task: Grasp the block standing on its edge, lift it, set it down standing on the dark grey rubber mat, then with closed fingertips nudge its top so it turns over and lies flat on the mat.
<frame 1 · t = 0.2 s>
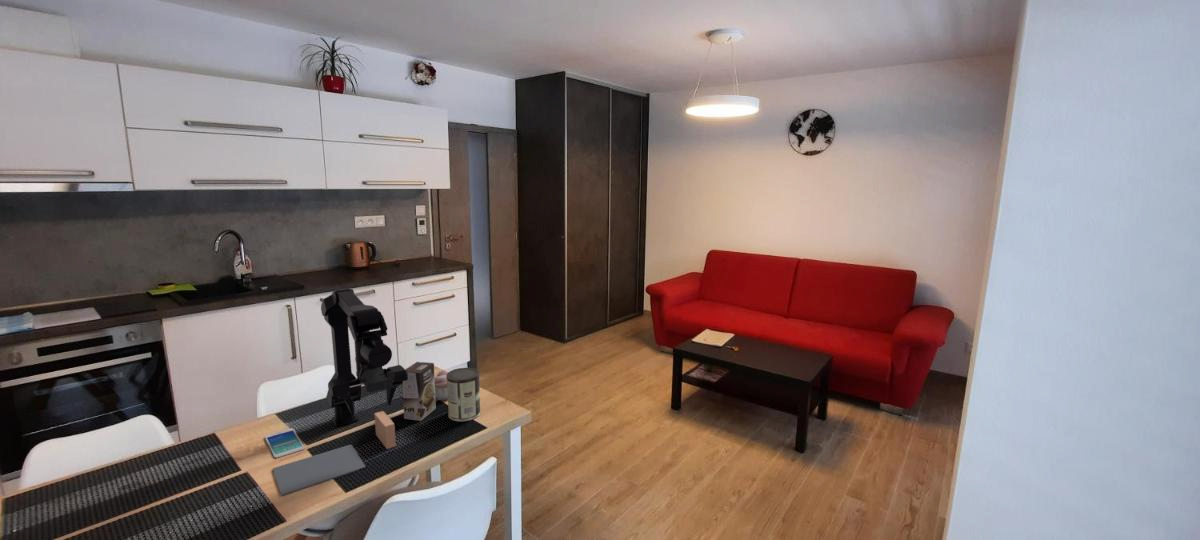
hand: (371, 409, 134), 14 cm above the table, fingers open, 9 cm apart
cupcake: (444, 397, 174), on the table
block: (385, 440, 145), on the table
coffee box: (420, 414, 161), on the table
smartphone: (284, 445, 142), on the table
mat: (319, 468, 130), on the table
coffee can: (464, 414, 161), on the table
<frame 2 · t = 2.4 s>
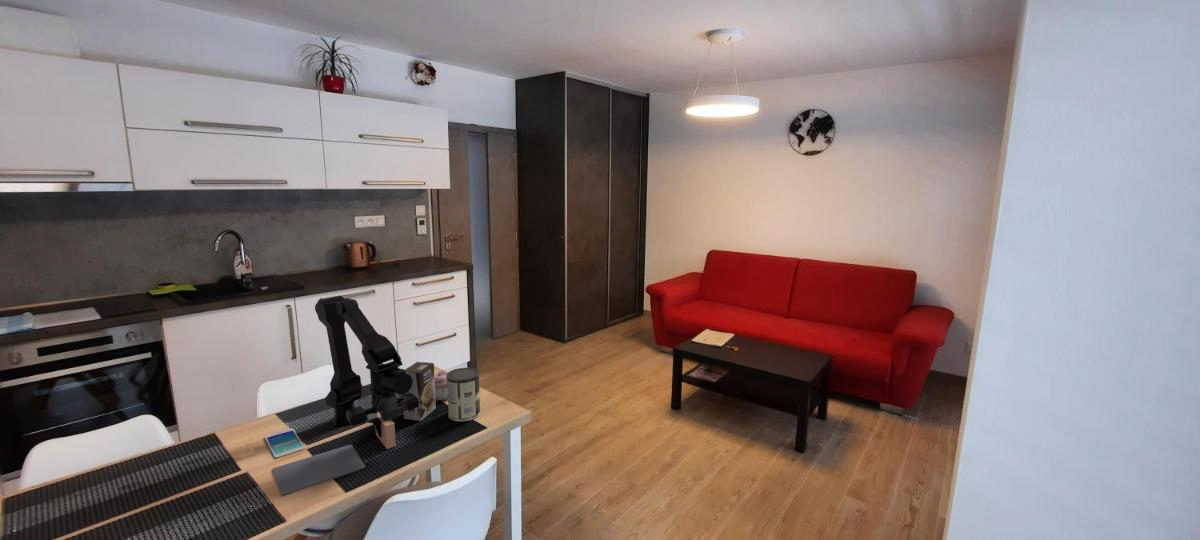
hand: (385, 435, 144), 2 cm above the table, fingers closed on block, 2 cm apart
block: (385, 440, 145), on the table, touching gripper
everything else where it was.
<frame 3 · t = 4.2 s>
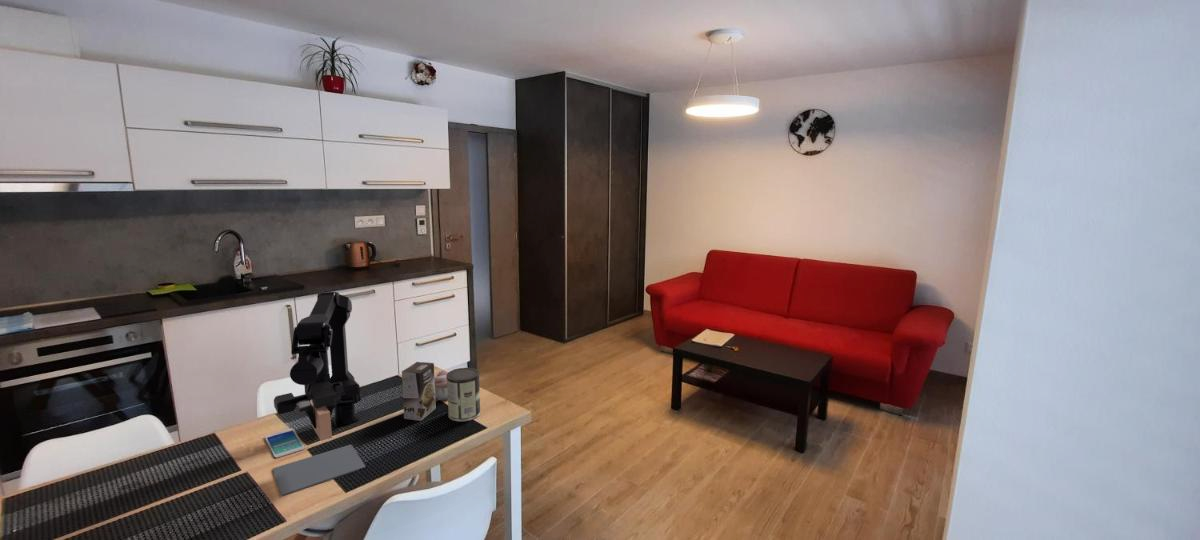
hand: (321, 426, 129), 12 cm above the table, fingers closed on block, 2 cm apart
block: (321, 431, 129), point 10 cm above the table, touching gripper
everything else where it was.
when the fingers open (3 cm above the table, at t = 6.2 s): block stays where it is, resting on mat.
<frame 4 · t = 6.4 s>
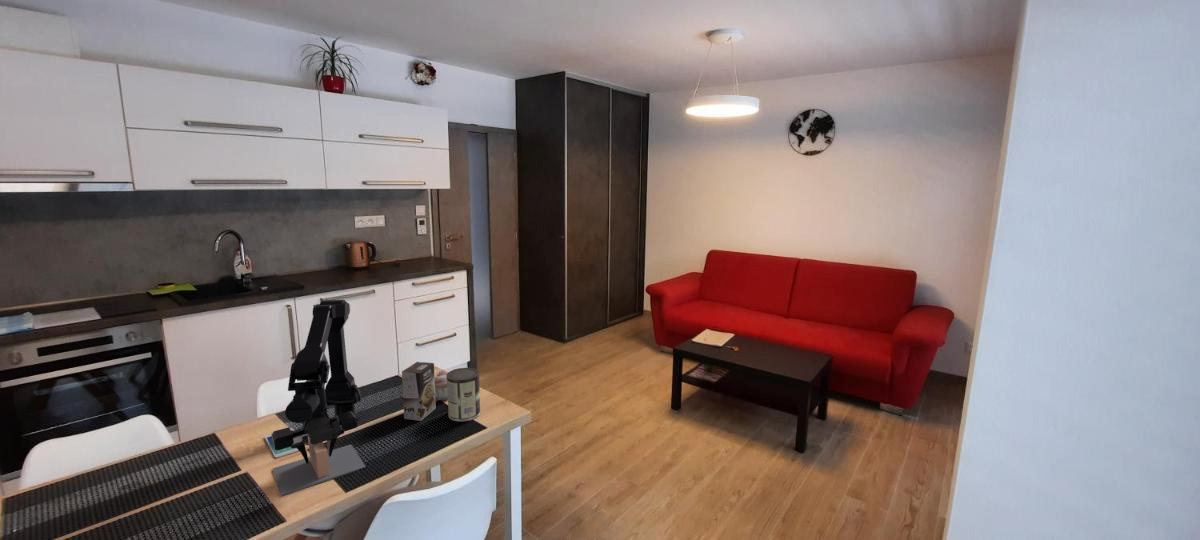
hand: (318, 459, 130), 3 cm above the table, fingers open, 5 cm apart
block: (319, 467, 130), resting on mat
everything else where it was.
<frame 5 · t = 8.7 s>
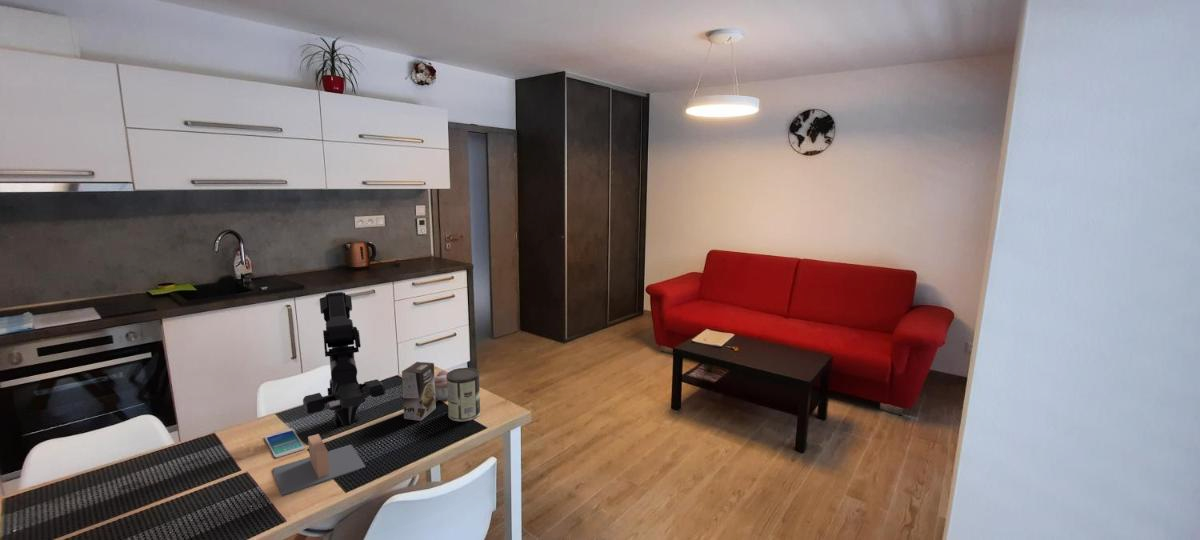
hand: (347, 425, 133), 10 cm above the table, fingers closed
nothing on the table moved.
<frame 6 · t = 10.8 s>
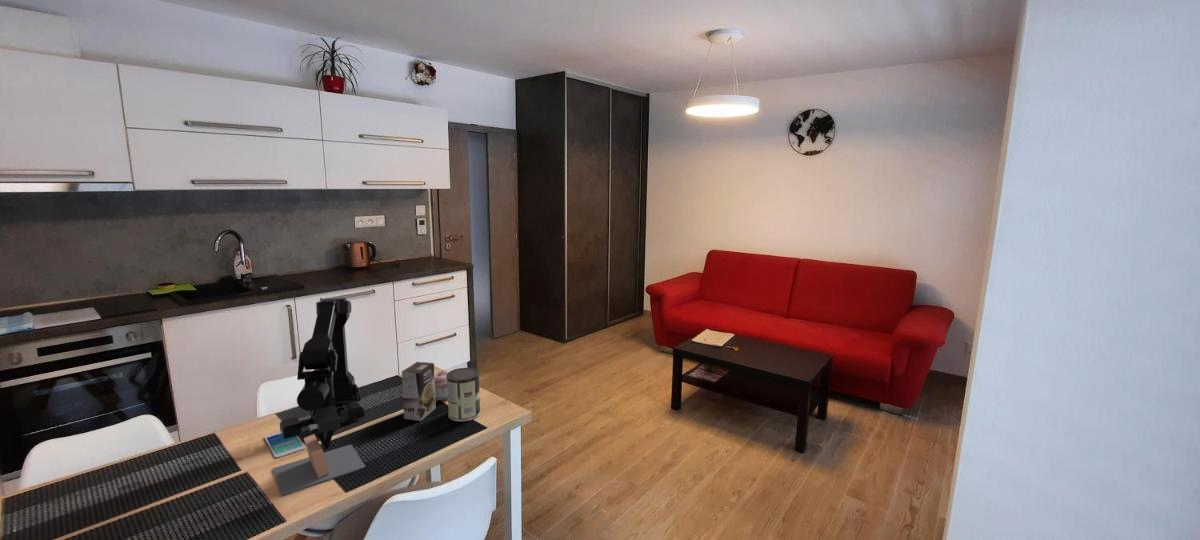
hand: (326, 448, 130), 5 cm above the table, fingers closed
block: (319, 466, 130), point 1 cm above the table, tilted 8°, touching mat
everything else where it was.
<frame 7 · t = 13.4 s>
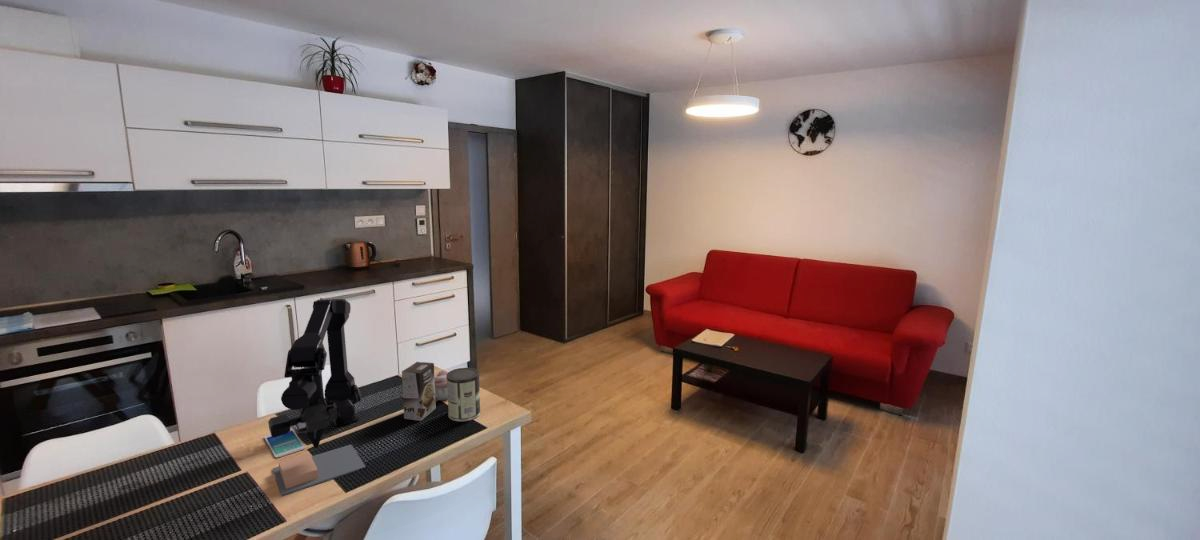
hand: (315, 447, 129), 6 cm above the table, fingers closed
block: (313, 464, 129), point 2 cm above the table, tilted 90°, touching mat
everything else where it was.
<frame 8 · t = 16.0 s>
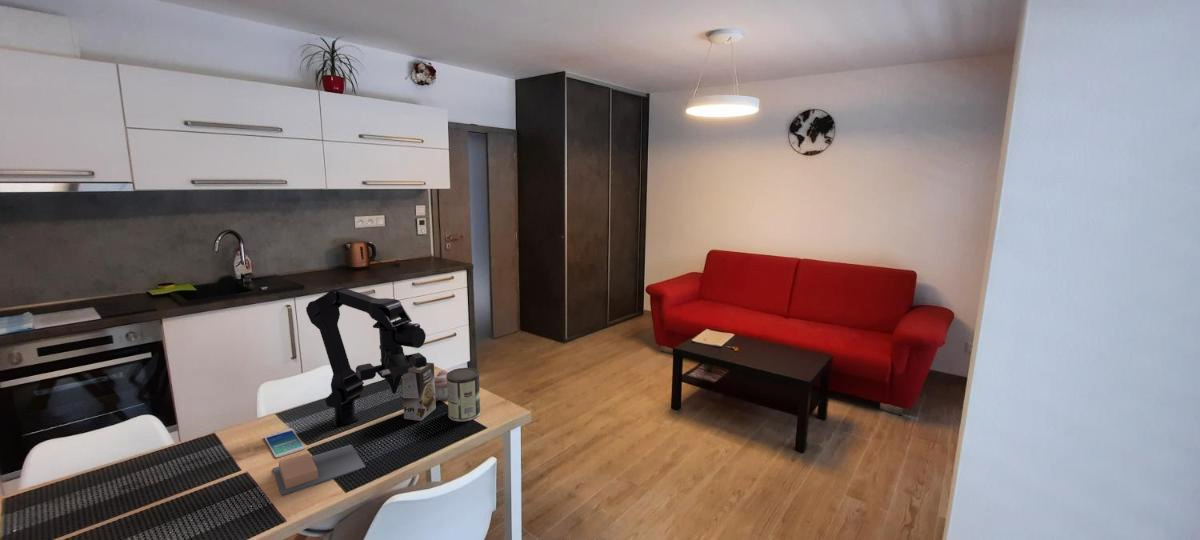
hand: (393, 393, 147), 12 cm above the table, fingers closed
nothing on the table moved.
at the end: block tilted 90°; block inside the target area on the mat (1.2 cm from its centre), point 1.6 cm above the mat's base; the gripper is holding nothing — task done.
